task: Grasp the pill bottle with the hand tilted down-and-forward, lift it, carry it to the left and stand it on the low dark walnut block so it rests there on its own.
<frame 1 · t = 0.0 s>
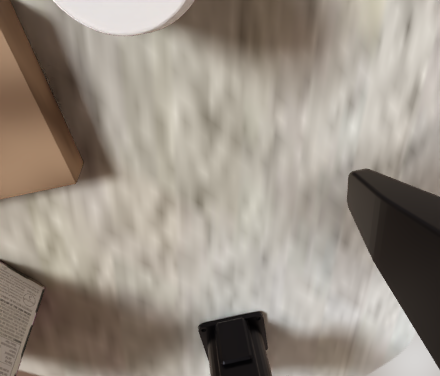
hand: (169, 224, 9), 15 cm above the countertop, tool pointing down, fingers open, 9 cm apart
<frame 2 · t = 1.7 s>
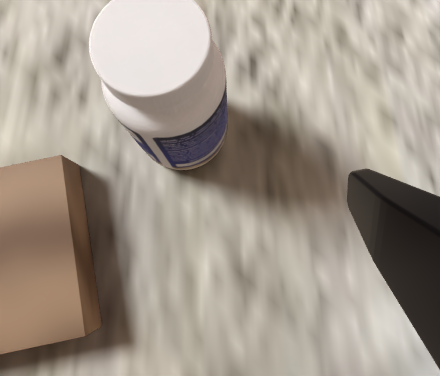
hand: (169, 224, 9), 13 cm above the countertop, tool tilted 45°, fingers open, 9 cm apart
pill bottle: (183, 129, 23), on the countertop
walnut block: (10, 259, 22), on the countertop
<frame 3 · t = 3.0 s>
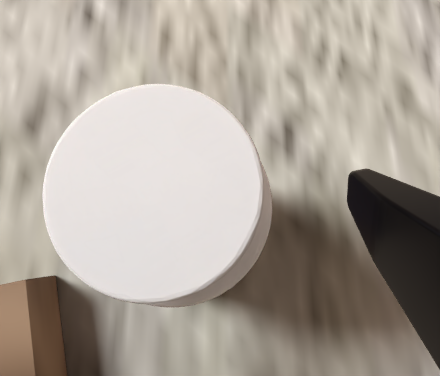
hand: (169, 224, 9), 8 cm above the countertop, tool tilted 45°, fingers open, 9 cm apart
pill bottle: (196, 224, 17), on the countertop
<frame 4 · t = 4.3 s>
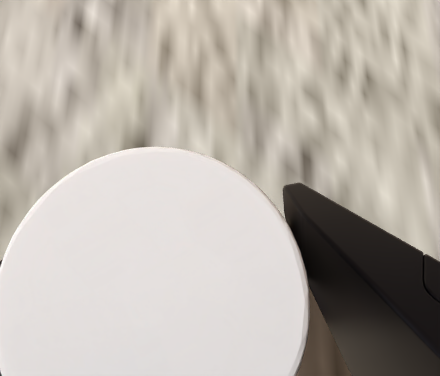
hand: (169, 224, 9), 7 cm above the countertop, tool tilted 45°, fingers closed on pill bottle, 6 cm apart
pill bottle: (201, 267, 15), on the countertop, touching gripper
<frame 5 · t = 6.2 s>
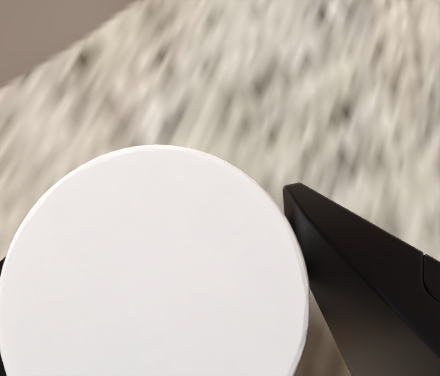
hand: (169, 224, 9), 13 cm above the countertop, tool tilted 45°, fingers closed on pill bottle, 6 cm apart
pill bottle: (202, 265, 15), point 6 cm above the countertop, touching gripper
when the fingers open (9 cm above the countertop, at t = 8.1 s): pill bottle stays where it is, resting on walnut block.
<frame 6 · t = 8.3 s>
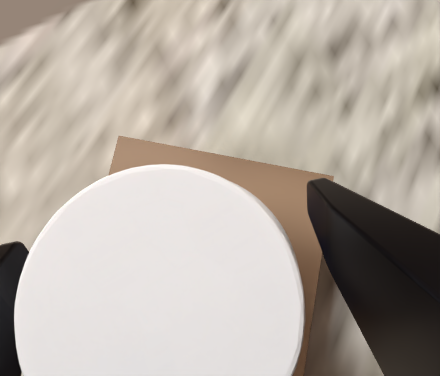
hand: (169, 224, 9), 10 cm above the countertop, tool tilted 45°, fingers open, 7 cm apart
pill bottle: (203, 269, 15), point 2 cm above the countertop, touching walnut block
walnut block: (205, 262, 18), on the countertop
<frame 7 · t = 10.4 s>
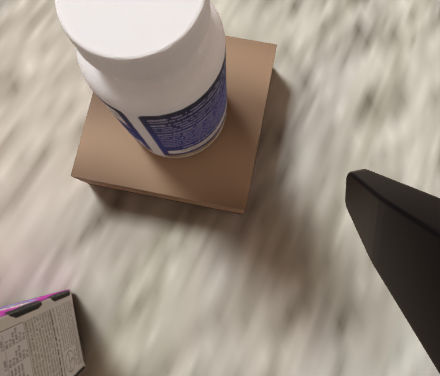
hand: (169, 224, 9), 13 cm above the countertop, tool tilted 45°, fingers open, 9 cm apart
pill bottle: (177, 113, 20), point 2 cm above the countertop, touching walnut block
walnut block: (181, 123, 23), on the countertop
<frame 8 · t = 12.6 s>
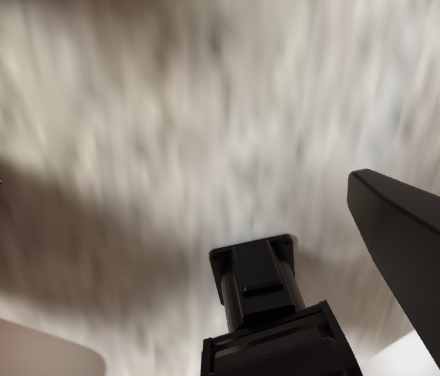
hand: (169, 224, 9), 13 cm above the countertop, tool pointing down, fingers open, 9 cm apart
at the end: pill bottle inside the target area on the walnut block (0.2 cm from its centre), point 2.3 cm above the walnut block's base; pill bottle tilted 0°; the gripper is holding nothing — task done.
